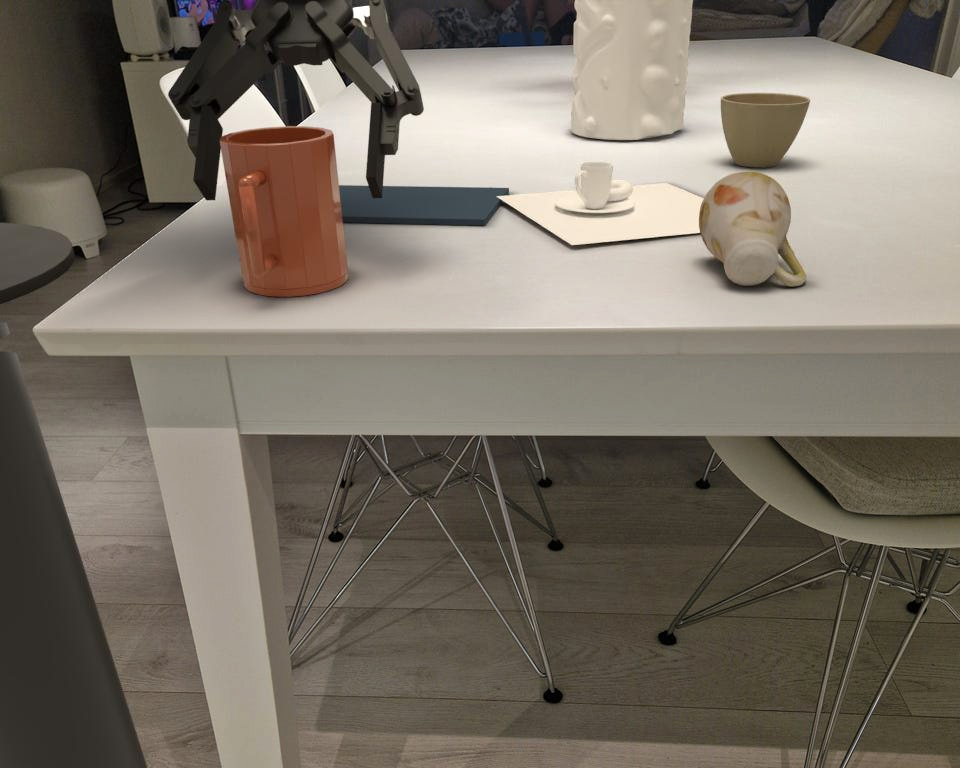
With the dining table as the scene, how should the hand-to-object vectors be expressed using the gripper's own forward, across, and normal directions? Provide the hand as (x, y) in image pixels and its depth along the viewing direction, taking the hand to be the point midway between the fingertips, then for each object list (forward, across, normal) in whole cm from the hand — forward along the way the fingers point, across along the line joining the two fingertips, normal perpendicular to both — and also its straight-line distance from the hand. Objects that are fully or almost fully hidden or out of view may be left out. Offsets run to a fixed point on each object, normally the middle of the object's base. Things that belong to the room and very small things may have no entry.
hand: (288, 189), depth 72 cm
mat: (-13, -5, -23) cm, 26 cm away
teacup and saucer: (-10, -27, -20) cm, 35 cm away
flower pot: (-27, -44, -38) cm, 64 cm away
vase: (-44, -30, -54) cm, 76 cm away
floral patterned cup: (+4, -36, -6) cm, 37 cm away
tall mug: (+6, 0, -3) cm, 7 cm away
